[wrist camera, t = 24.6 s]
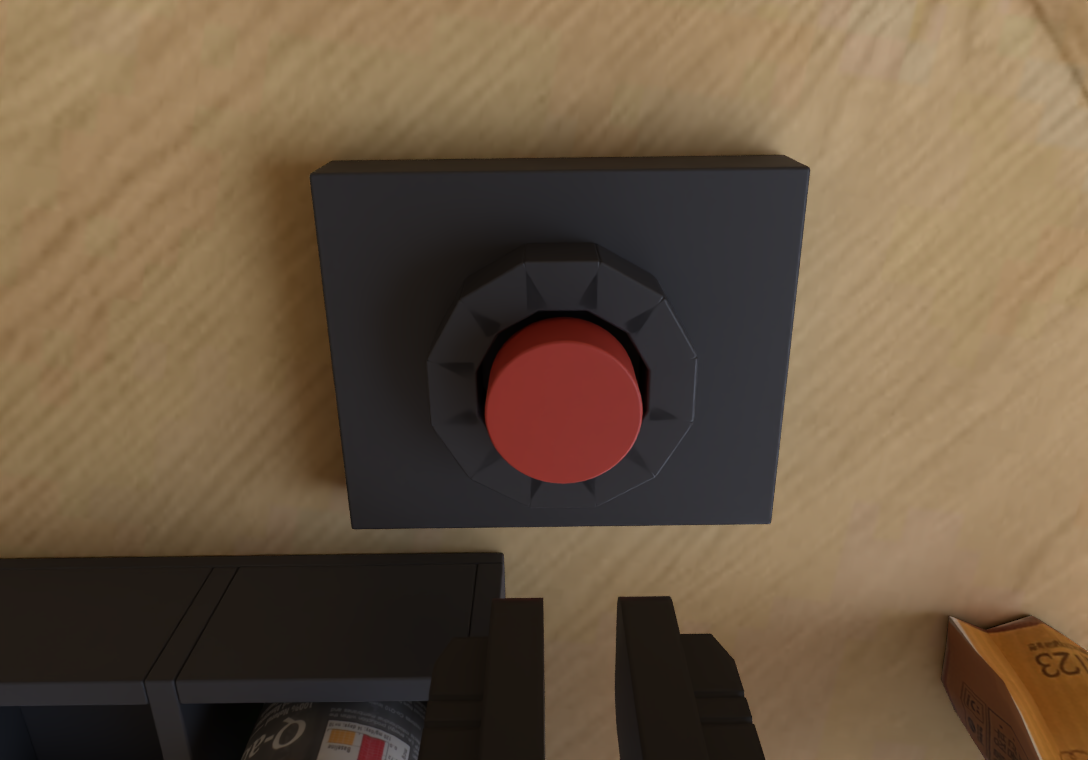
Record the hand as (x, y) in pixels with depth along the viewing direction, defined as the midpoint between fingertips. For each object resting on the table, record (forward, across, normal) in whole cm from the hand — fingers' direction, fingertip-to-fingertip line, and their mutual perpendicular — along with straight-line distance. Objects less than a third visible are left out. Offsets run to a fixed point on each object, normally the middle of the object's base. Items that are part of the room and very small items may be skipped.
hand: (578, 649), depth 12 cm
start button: (+9, 0, 0) cm, 9 cm away
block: (+13, 0, 0) cm, 13 cm away
